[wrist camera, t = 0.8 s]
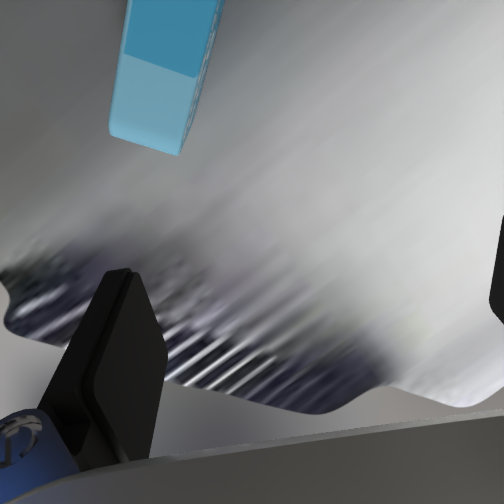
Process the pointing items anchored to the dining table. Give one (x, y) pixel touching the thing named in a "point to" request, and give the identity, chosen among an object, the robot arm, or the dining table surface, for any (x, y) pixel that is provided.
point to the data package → (162, 70)
